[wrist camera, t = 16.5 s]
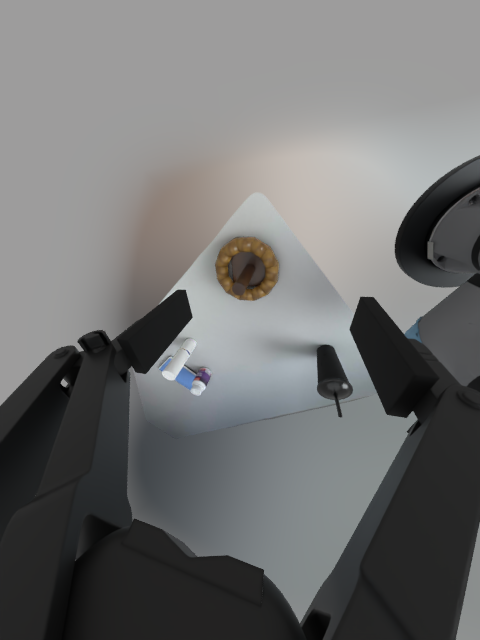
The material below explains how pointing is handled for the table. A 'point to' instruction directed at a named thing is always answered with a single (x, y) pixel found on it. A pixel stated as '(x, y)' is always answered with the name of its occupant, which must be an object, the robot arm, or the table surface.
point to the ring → (259, 250)
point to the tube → (179, 359)
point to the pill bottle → (200, 381)
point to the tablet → (181, 374)
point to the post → (246, 272)
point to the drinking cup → (331, 376)
